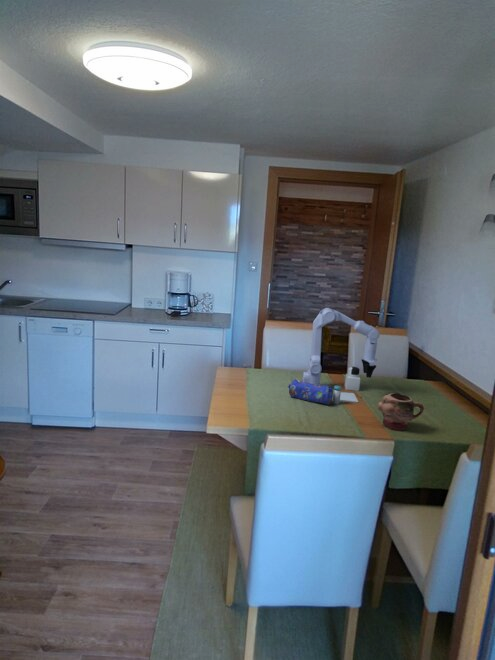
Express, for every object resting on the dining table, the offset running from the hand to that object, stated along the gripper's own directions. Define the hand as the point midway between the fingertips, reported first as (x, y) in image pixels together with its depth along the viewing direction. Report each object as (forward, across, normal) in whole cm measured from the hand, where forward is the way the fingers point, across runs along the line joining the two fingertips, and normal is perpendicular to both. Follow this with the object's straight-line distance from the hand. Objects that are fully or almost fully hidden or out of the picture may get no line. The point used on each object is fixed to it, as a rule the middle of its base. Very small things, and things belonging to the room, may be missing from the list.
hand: (367, 375), depth 233 cm
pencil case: (+10, -18, +31) cm, 37 cm away
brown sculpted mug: (+10, -42, -6) cm, 44 cm away
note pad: (+10, -10, +11) cm, 18 cm away
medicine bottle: (+10, +6, +6) cm, 13 cm away
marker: (+10, -19, +18) cm, 28 cm away
